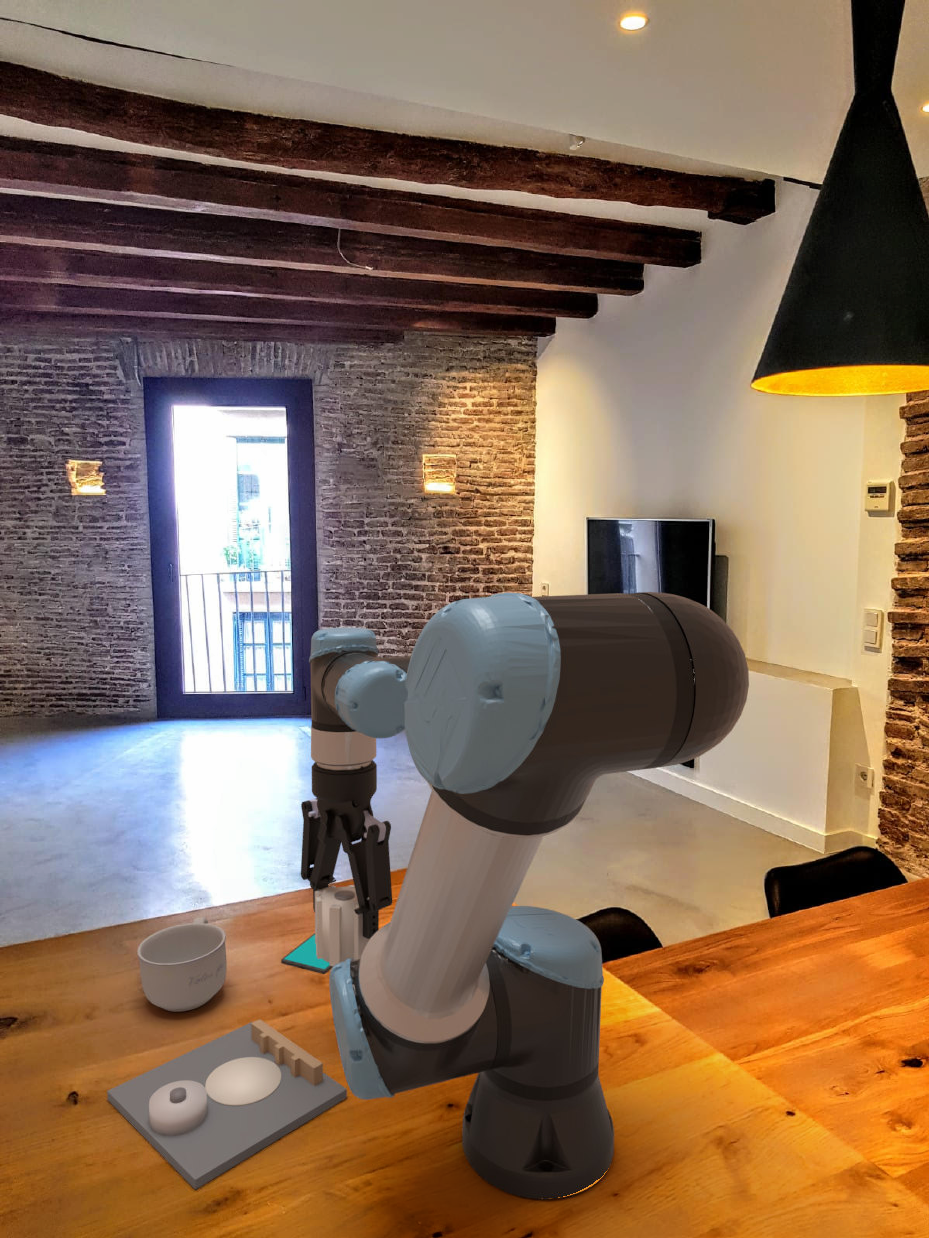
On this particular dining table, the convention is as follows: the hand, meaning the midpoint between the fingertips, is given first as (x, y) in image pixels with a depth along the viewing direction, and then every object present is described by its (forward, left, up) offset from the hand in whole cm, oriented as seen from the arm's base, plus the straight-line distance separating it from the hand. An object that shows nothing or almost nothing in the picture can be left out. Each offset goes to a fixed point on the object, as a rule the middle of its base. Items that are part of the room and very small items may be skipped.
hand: (345, 950), depth 103 cm
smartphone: (+19, -13, -12) cm, 26 cm away
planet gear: (0, 0, 0) cm, 0 cm away
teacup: (+22, +8, -11) cm, 26 cm away
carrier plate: (0, +16, -11) cm, 19 cm away
